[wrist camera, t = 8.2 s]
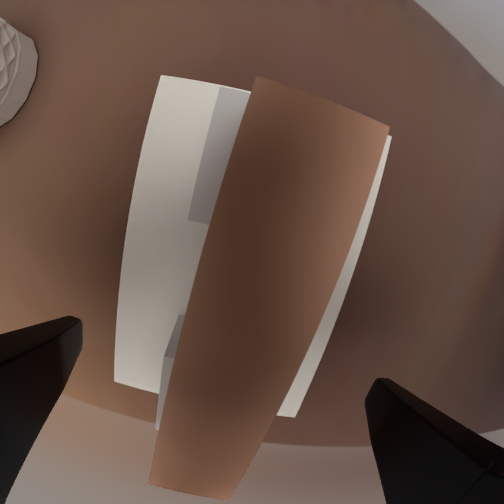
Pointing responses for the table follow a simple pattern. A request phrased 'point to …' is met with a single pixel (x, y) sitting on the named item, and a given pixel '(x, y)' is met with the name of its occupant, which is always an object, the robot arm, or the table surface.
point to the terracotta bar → (262, 280)
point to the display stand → (191, 233)
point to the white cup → (15, 70)
